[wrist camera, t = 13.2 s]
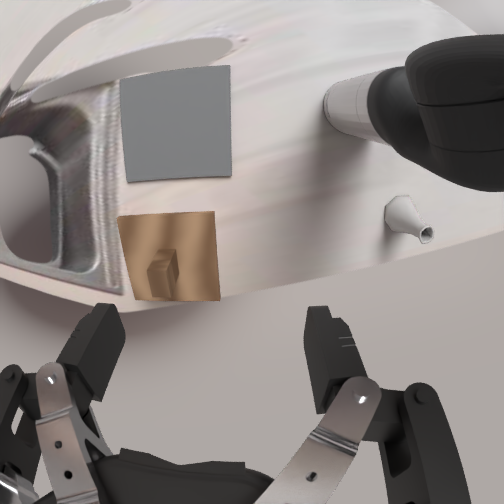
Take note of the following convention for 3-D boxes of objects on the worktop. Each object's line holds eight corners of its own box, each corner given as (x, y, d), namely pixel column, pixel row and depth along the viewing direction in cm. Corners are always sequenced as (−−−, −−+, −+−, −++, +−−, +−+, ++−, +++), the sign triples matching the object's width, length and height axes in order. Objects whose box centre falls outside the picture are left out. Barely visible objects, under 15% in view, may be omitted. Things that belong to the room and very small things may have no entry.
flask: (379, 203, 46) (405, 224, 37) (411, 188, 45) (440, 207, 36) (388, 235, 49) (412, 261, 40) (417, 221, 48) (445, 244, 39)
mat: (230, 65, 35) (229, 65, 35) (231, 174, 44) (231, 175, 43) (121, 80, 35) (119, 79, 35) (128, 181, 44) (126, 182, 43)
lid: (214, 211, 37) (208, 231, 31) (220, 296, 43) (217, 326, 37) (119, 216, 37) (98, 235, 30) (137, 296, 43) (124, 323, 37)
